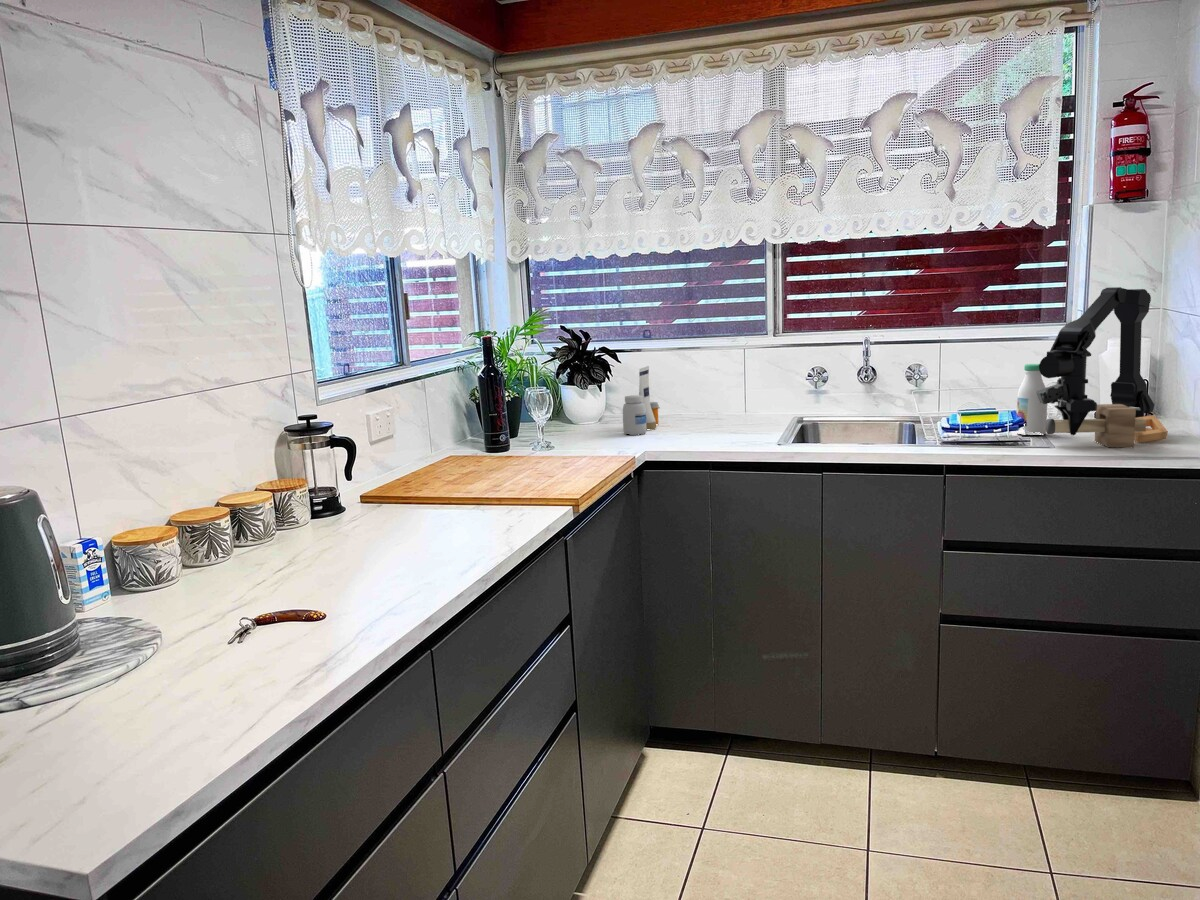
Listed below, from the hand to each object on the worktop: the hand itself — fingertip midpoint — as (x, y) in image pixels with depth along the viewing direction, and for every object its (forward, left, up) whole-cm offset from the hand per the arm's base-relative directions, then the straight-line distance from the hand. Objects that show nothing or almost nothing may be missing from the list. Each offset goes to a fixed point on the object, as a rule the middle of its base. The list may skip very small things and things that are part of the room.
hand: (1070, 433), depth 240 cm
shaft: (0, +6, 0) cm, 6 cm away
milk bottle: (-18, -5, -3) cm, 19 cm away
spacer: (-5, +20, 0) cm, 21 cm away
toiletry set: (-40, -119, -3) cm, 126 cm away
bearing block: (0, +11, -3) cm, 11 cm away
